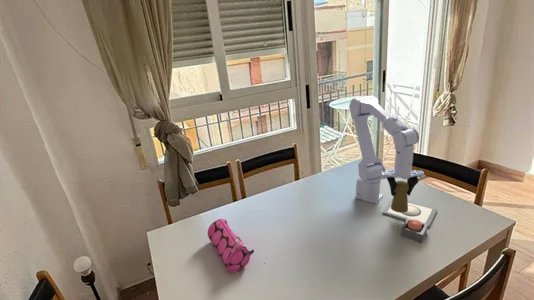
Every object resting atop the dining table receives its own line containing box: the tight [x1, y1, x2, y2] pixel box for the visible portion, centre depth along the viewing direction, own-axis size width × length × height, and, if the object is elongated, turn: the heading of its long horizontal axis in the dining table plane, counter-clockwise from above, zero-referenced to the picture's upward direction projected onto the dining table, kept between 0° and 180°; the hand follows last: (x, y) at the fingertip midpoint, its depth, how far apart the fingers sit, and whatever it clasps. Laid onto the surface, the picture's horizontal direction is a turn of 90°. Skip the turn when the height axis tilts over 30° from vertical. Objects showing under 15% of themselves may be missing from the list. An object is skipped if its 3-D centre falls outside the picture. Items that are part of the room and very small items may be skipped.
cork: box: [391, 180, 409, 213], centre depth 116 cm, size 6×6×11 cm
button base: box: [399, 218, 429, 244], centre depth 110 cm, size 7×7×4 cm
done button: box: [408, 220, 422, 232], centre depth 109 cm, size 4×4×2 cm
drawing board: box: [381, 198, 438, 229], centre depth 122 cm, size 17×13×1 cm
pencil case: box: [207, 218, 255, 273], centre depth 107 cm, size 21×10×10 cm, turn 31°
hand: (400, 194), depth 116 cm, fingers open, 5 cm apart
